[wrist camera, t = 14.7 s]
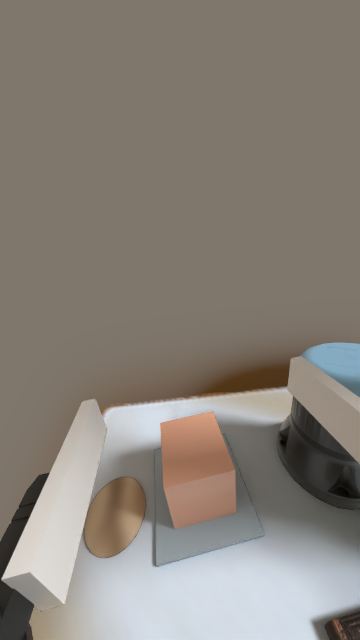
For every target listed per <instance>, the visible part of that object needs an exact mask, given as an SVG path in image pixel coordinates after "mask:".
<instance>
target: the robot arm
mask: <svg viewBox="0 0 360 640" xmlns="http://www.w3.org/2000/svg"><path fill="white" fill-rule="evenodd" d="M287 390H288V391H289V392H290V393H291V394H292V395H293V401H292V408H291V413H290V415H289V416H288V417H287V418H286V420H285V421H284V422H283V423H282V425H281V426H280V429H279V432H278V439H277V448H278V452H279V456H280V458H281V460H282V462H283V464H284V466H285V468H286V469H287V471H288V472H289V473H290V475H291V476H292V477H293V478H294V479H295V480H296V481H297V482H298V483H299V484H300V485H301V486H302V487H303V488H304V489H306V490H307V491H308V492H309V493H311V494H312V495H314V496H315V497H317V498H319V499H320V500H322V501H324V502H326V503H328V504H331V505H333V506H336V507H340V508H344V509H360V344H354V343H327V344H321V345H319V346H314V347H312V348H309V349H308V350H306V351H305V352H304V353H303V354H302V355H301V356H300V357H295V358H291V364H290V372H289V381H288V389H287ZM106 434H107V427H106V425H105V422H104V420H103V417H102V415H101V412H100V410H99V407H98V405H97V402H96V400H95V399H92V400H87V401H83V402H82V404H81V406H80V408H79V410H78V412H77V415H76V417H75V419H74V421H73V423H72V426H71V428H70V430H69V432H68V434H67V437H66V439H65V441H64V443H63V445H62V448H61V450H60V452H59V454H58V456H57V459H56V461H55V463H54V465H53V467H52V470H51V472H50V473H47V474H42V475H39V476H38V477H37V478H36V480H35V481H34V482H33V484H32V485H31V486H30V487H29V488H28V490H27V491H26V493H25V495H24V497H23V499H22V501H21V503H20V505H19V509H18V510H17V511H16V513H15V515H14V517H13V518H12V522H11V524H9V526H8V528H7V530H6V532H5V534H4V536H3V538H2V540H1V542H0V640H33V636H32V630H31V626H30V624H29V620H30V617H31V614H32V611H33V608H34V606H35V607H36V608H38V609H39V610H40V611H44V610H48V609H51V608H54V607H58V606H61V605H65V600H66V596H67V592H68V588H69V584H70V580H71V576H72V572H73V568H74V564H75V560H76V556H77V552H78V548H79V543H80V539H81V535H82V531H83V527H84V523H85V519H86V515H87V511H88V507H89V503H90V499H91V495H92V491H93V486H94V482H95V478H96V474H97V470H98V466H99V462H100V458H101V454H102V450H103V446H104V442H105V438H106Z"/></svg>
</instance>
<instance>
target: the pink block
mask: <svg viewBox="0 0 360 640" xmlns="http://www.w3.org/2000/svg"><path fill="white" fill-rule="evenodd" d="M160 426H161V446H162V466H163V486H164V491H165V495H166V499H167V503H168V506H169V510H170V514H171V517H172V521H173V525H174V528H175V530H176V529H179V528H183V527H186V526H190V525H194V524H197V523H201V522H205V521H208V520H212V519H216V518H219V517H223V516H227V515H230V514H234V513H236V477H235V468H234V465H233V463H232V460H231V457H230V455H229V452H228V450H227V447H226V444H225V442H224V439H223V437H222V434H221V431H220V429H219V426H218V423H217V421H216V418H215V416H214V413H213V411H212V412H208V413H203V414H199V415H194V416H190V417H185V418H181V419H176V420H171V421H167V422H162V423H160Z"/></svg>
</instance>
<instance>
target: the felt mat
mask: <svg viewBox="0 0 360 640" xmlns="http://www.w3.org/2000/svg"><path fill="white" fill-rule="evenodd" d="M222 437H223V439H224V442H225V444H226V447H227V450H228V452H229V455H230V457H231V460H232V463H233V465H234V468H235V477H236V513H234V514H230V515H227V516H223V517H219V518H216V519H212V520H208V521H205V522H201V523H197V524H194V525H190V526H186V527H183V528H179V529H176V530H175V528H174V525H173V521H172V517H171V514H170V510H169V506H168V503H167V499H166V495H165V491H164V486H163V466H162V448H159V449H155V524H156V566H157V567H158V566H162V565H165V564H169V563H172V562H175V561H179V560H182V559H186V558H189V557H193V556H196V555H200V554H203V553H207V552H210V551H214V550H217V549H220V548H224V547H227V546H231V545H234V544H238V543H241V542H245V541H248V540H252V539H255V538H259V537H262V536H264V532H263V529H262V527H261V524H260V522H259V519H258V517H257V514H256V512H255V509H254V506H253V504H252V501H251V499H250V496H249V494H248V491H247V489H246V486H245V484H244V481H243V479H242V476H241V474H240V471H239V469H238V466H237V464H236V461H235V459H234V456H233V454H232V451H231V449H230V446H229V444H228V441H227V439H226V436H225V434H222Z"/></svg>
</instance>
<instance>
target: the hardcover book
mask: <svg viewBox="0 0 360 640" xmlns="http://www.w3.org/2000/svg"><path fill="white" fill-rule="evenodd" d="M325 629H326V631H327V633H328V635H329V638H330V640H360V612H357V613H354V614H350V615H347V616H344V617H340V618H337V619H334V620H331V621H329V622H328V623H327V624H326V625H325Z"/></svg>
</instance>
